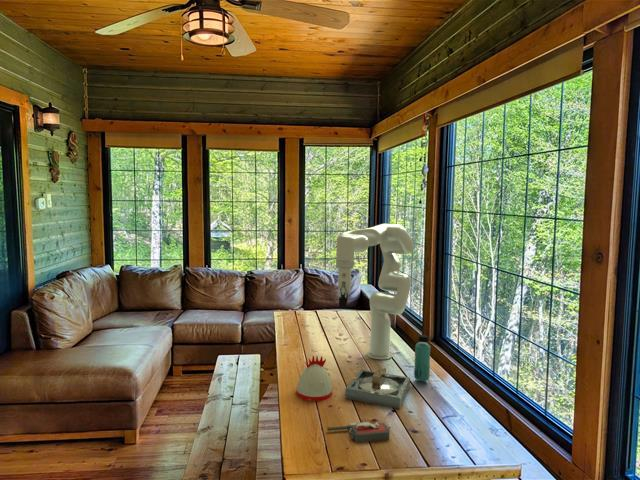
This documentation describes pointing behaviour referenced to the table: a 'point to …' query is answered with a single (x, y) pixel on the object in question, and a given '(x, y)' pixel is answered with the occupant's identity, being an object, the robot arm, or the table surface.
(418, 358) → the beverage bottle
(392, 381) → the dial
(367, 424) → the walkie-talkie
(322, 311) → the table surface
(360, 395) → the dial housing
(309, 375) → the kitchen timer
